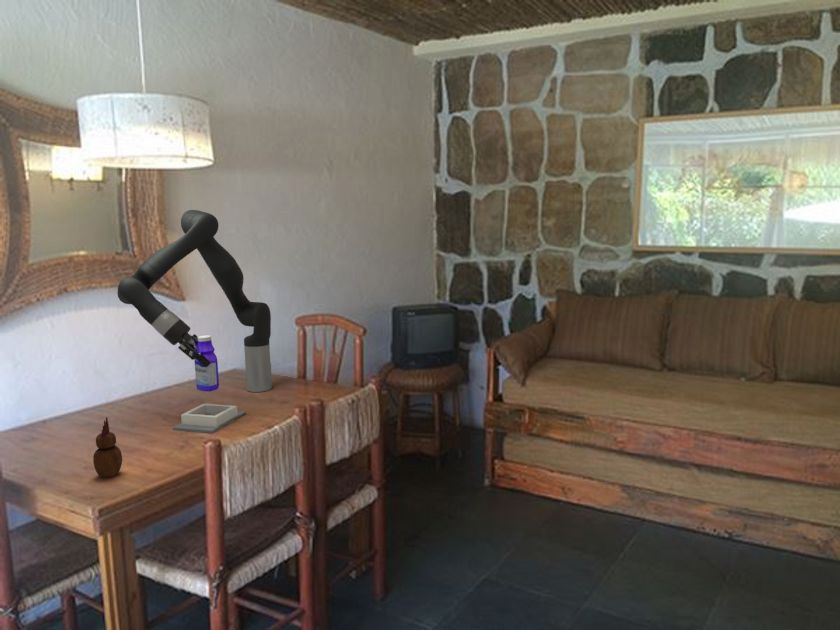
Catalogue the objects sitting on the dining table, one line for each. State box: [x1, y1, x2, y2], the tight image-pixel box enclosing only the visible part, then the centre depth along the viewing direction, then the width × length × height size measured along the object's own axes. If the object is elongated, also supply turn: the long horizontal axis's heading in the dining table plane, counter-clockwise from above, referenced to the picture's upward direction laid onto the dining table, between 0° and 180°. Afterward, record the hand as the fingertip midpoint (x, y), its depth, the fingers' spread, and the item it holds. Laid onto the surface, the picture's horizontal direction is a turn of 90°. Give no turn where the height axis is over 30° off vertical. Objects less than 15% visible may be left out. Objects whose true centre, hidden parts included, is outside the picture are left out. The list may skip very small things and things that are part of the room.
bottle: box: [194, 334, 220, 393], centre depth 214 cm, size 7×6×17 cm
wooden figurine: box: [92, 416, 123, 478], centre depth 173 cm, size 7×6×15 cm
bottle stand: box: [171, 403, 247, 434], centre depth 217 cm, size 20×14×4 cm
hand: (211, 362), depth 214 cm, fingers closed on bottle, 6 cm apart
